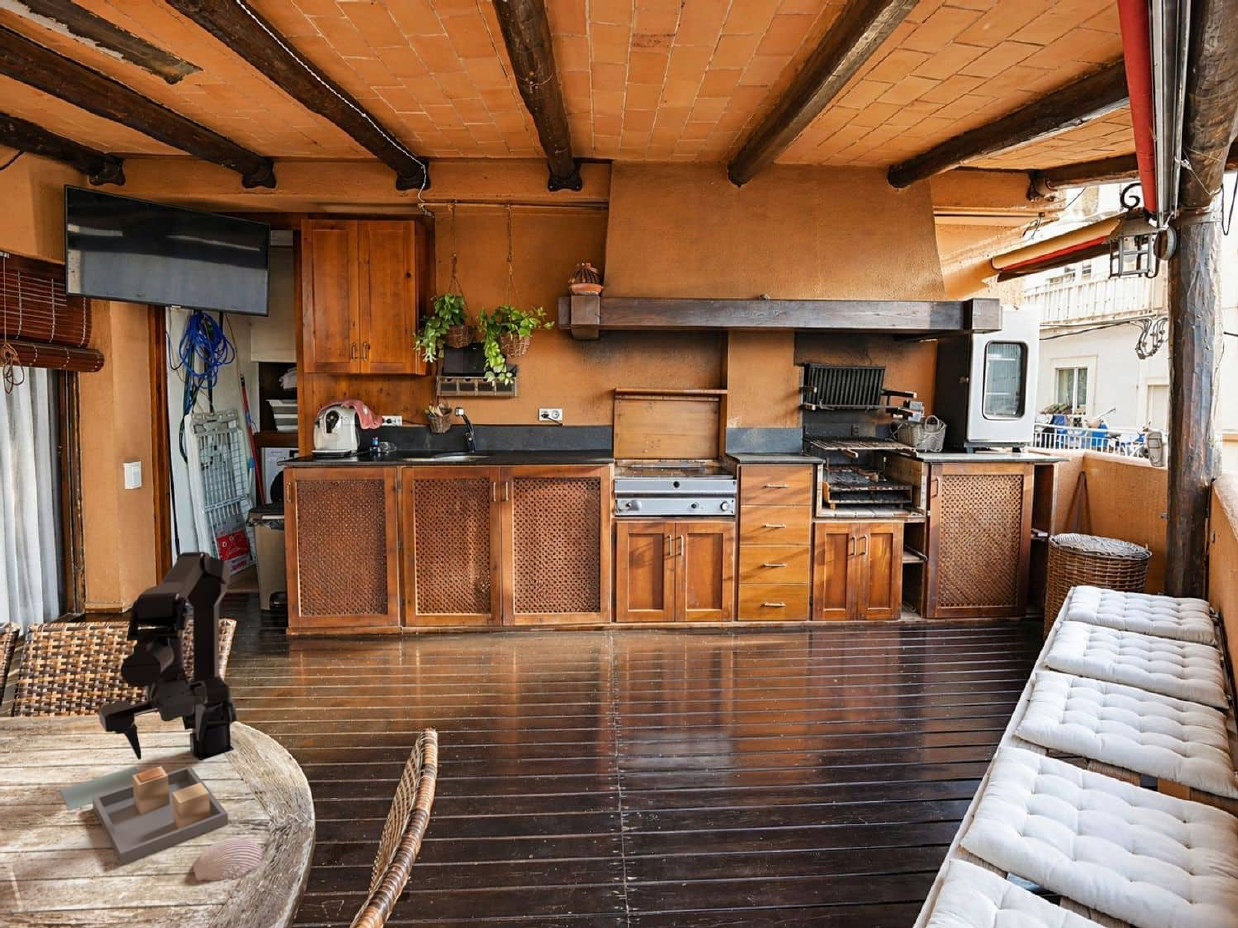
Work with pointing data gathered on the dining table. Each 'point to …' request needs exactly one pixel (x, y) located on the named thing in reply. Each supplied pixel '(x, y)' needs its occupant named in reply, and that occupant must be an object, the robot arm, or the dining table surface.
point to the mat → (97, 788)
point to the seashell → (227, 859)
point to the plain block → (190, 805)
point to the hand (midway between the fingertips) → (169, 749)
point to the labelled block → (151, 790)
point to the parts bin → (151, 820)
